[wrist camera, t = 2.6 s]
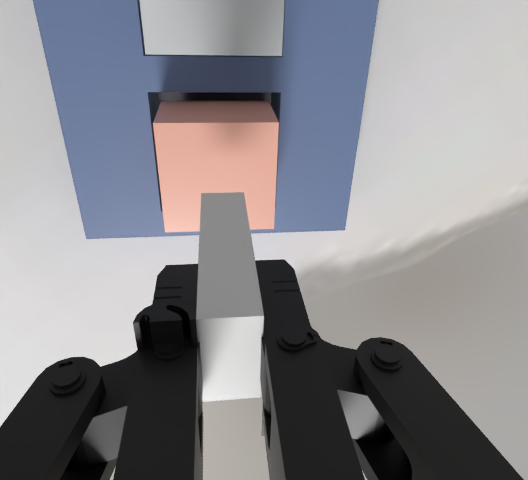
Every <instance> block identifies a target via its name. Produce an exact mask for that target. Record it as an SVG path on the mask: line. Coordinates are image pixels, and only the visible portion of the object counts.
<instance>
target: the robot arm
mask: <svg viewBox="0 0 528 480" xmlns="http://www.w3.org/2000/svg"><path fill="white" fill-rule="evenodd" d="M133 325H134V331H135V337H136V343H137V348H138V350H137V351H136V352H135V353H134V354H132V355H131V356H129V357H127V358H125V359H123V360H120V361H118V362H115V363H112V364H108V365H105V366H102V367H100V366H99V365H98V364H97V363H96V362H95V361H94V360H92V359H89V358H85V357H71V358H67V359H64V360H61V361H58V362H56V363H54V364H53V365H51V366H49V367H47V368H46V369H45V370H44V371H43V372H42V373H41V374H40V375H39V376H38V377H37V378H36V380H35V381H34V382H33V384H32V385H31V386H30V388H29V389H28V390H27V392H26V393H25V395H24V396H23V397H22V399H21V400H20V401H19V403H18V404H17V405H16V407H15V408H14V409H13V411H12V412H11V413H10V415H9V416H8V417H7V419H6V420H5V421H4V423H3V424H2V426H1V427H0V480H110V477H111V475H112V473H113V471H114V468H115V466H116V468H115V473H114V479H113V480H203V412H202V402H204V401H217V400H231V399H245V398H258V397H261V391H262V398H263V414H262V436H265V442H266V451H267V460H268V468H269V476H270V480H365V479H364V476H363V473H362V470H363V472H364V474H365V476H366V478H367V479H368V480H523V478H522V477H521V476H520V475H519V474H518V473H517V472H516V471H515V469H514V468H513V467H512V466H511V465H510V464H509V462H508V461H507V460H506V459H505V458H504V457H503V456H502V455H501V453H500V452H499V451H498V450H497V449H496V448H495V446H494V445H493V444H492V443H491V442H490V441H489V440H488V438H487V437H486V436H485V435H484V434H483V433H482V432H481V431H480V429H479V428H478V427H477V426H476V425H475V424H474V423H473V421H472V420H471V419H470V418H469V417H468V416H467V415H466V413H465V412H464V411H463V410H462V409H461V408H460V407H459V405H458V404H457V403H456V402H455V401H454V400H453V399H452V398H451V396H450V395H449V394H448V393H447V392H446V391H445V389H444V388H443V387H442V386H441V385H440V384H439V383H438V381H437V380H436V379H435V378H434V377H433V376H432V375H431V373H430V372H429V371H428V370H427V369H426V368H425V367H424V365H423V364H422V363H421V362H420V361H419V360H418V359H417V357H416V356H415V355H414V354H413V353H412V352H411V351H410V350H409V349H408V348H407V347H405V346H404V345H403V344H401V343H399V342H396V341H394V340H392V339H386V338H381V337H380V338H370V339H368V340H366V341H364V342H362V343H361V345H360V346H359V347H358V349H357V350H355V349H349V348H344V347H339V346H336V345H332V344H330V343H328V342H326V341H324V340H322V339H321V338H320V336H319V334H318V333H317V332H316V331H315V330H314V329H312V327H311V326H310V322H309V319H308V315H307V312H306V309H305V305H304V302H303V298H302V295H301V292H300V288H299V285H298V282H297V278H296V274H295V271H294V269H293V268H292V267H291V266H290V265H289V264H288V263H287V262H286V261H285V260H259V261H255V257H254V251H253V245H252V239H251V233H250V227H249V220H248V214H247V208H246V202H245V196H244V192H231V193H201V211H200V236H199V260H198V264H185V265H166V266H165V268H164V269H163V270H162V271H161V272H160V273H159V275H158V276H157V282H156V287H155V293H154V300H153V304H152V305H151V306H148V307H146V308H144V309H143V310H142V311H141V312H140V313H139V314H137V316H136V318H135V320H134V322H133Z"/></svg>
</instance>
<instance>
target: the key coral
mask: <svg viewBox="0 0 528 480" xmlns="http://www.w3.org/2000/svg"><path fill="white" fill-rule="evenodd" d="M153 128H154V137H155V146H156V155H157V164H158V173H159V182H160V191H161V201H162V210H163V219H164V228H165V232H195V231H200V211H201V193H231V192H244V196H245V202H246V208H247V214H248V220H249V227H250V230H256V229H274V218H275V197H276V175H277V153H278V131H279V122H278V119H277V117H276V115H275V113H274V111H273V109H272V107H271V105H270V103H269V101H161V103H160V105H159V108H158V111H157V114H156V116H155V119H154V122H153Z"/></svg>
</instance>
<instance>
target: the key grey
mask: <svg viewBox="0 0 528 480" xmlns="http://www.w3.org/2000/svg"><path fill="white" fill-rule="evenodd" d="M284 1H285V0H140V10H141V19H142V28H143V37H144V46H145V54H151V55H236V56H282V44H283V23H284Z"/></svg>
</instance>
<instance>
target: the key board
mask: <svg viewBox="0 0 528 480" xmlns="http://www.w3.org/2000/svg"><path fill="white" fill-rule="evenodd" d="M378 1H379V0H285V1H284V23H283V44H282V56H236V55H151V54H145V46H144V37H143V28H142V19H141V10H140V0H33V3H34V8H35V12H36V17H37V21H38V26H39V30H40V35H41V39H42V44H43V48H44V52H45V57H46V61H47V66H48V70H49V75H50V79H51V84H52V88H53V92H54V97H55V101H56V106H57V110H58V115H59V119H60V124H61V128H62V133H63V137H64V141H65V146H66V150H67V155H68V159H69V164H70V168H71V173H72V177H73V182H74V186H75V190H76V195H77V199H78V204H79V208H80V213H81V217H82V222H83V226H84V231H85V235H86V239H99V238H129V237H158V236H188V235H200V231H195V232H165V228H164V219H163V210H162V201H161V191H160V182H159V173H158V164H157V155H156V146H155V137H154V128H153V122H154V119H155V116H156V114H157V111H158V108H159V105H158V95H157V92H271V102H270V105H271V107H272V109H273V111H274V113H275V115H276V117H277V119H278V122H279V131H278V153H277V175H276V197H275V218H274V229H256V230H250V233H277V232H306V231H336V230H345V226H346V219H347V212H348V205H349V198H350V192H351V185H352V178H353V171H354V164H355V158H356V151H357V144H358V137H359V131H360V124H361V117H362V110H363V103H364V97H365V90H366V83H367V76H368V69H369V63H370V56H371V49H372V42H373V35H374V29H375V22H376V15H377V8H378Z"/></svg>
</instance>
